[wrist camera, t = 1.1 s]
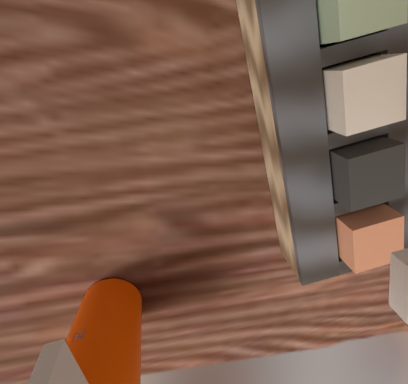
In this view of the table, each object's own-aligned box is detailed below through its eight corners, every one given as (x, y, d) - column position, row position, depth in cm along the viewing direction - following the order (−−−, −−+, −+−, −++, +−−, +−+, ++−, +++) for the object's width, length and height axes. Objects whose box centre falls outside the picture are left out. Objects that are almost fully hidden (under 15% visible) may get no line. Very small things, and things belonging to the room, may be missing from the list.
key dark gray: (324, 148, 29) (347, 159, 25) (374, 133, 29) (405, 143, 25) (328, 194, 31) (351, 212, 27) (375, 181, 31) (404, 196, 27)
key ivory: (316, 70, 26) (342, 71, 22) (372, 55, 26) (406, 53, 22) (322, 127, 28) (346, 136, 24) (373, 112, 28) (405, 119, 24)
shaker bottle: (152, 272, 38) (143, 469, 19) (146, 328, 41) (134, 542, 22) (75, 269, 36) (-15, 479, 18) (76, 327, 39) (0, 557, 21)
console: (231, -23, 27) (251, -49, 21) (382, -64, 27) (443, -100, 21) (281, 252, 39) (302, 285, 33) (385, 221, 39) (426, 249, 33)
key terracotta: (330, 211, 32) (352, 230, 28) (376, 198, 32) (404, 215, 28) (334, 251, 34) (355, 273, 30) (377, 238, 34) (403, 259, 30)
